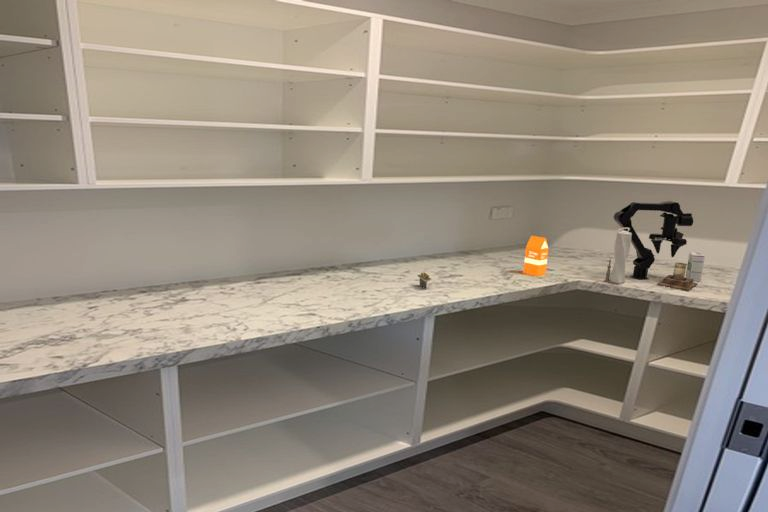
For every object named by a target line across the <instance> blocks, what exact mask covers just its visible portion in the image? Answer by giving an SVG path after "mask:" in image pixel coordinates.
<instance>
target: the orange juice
mask: <svg viewBox="0 0 768 512" xmlns="http://www.w3.org/2000/svg"><path fill="white" fill-rule="evenodd" d="M524 255H525V256H524V266H523V274H525V273H526V274H525V275H529V274H530V275H531V276H533V275H534V276H535V277H537V276H538V277H541V276H546V274H547V273H546V272H547V265H548V257H549V256H548V255H549V245H548V241H547V238H546V237H542V236H536V235H531V236H530V238H529V240H528V242H527V244H526V246H525V253H524ZM530 275H529V276H530Z"/></svg>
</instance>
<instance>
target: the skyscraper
mask: <svg viewBox="0 0 768 512" xmlns="http://www.w3.org/2000/svg"><path fill="white" fill-rule="evenodd" d="M624 229H628V231H629V230H630V228H622V227H620V228H619V229H617V232H616V235H615V241H614V247H613V259H614V261H613V262H614V263H613V266H611V262H612V261H611V257H609V260H608V265H607V271H606V274H605V276H606V277H605V280H604V282H605V283H610V284H613V285H622V284H625V282H626V261H627V259H628V257H629V253H630V249H631V245H632V243H631V236H632V233H630V232H628V231H624ZM611 267H612V270H611Z"/></svg>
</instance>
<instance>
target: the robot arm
mask: <svg viewBox="0 0 768 512" xmlns="http://www.w3.org/2000/svg"><path fill="white" fill-rule="evenodd" d="M638 211H653V212H654V211H655V212H656V211H659V212H662V213H661V214H660V215H659V216H660V217H662V218H663V224H662V226H661V227H660V230H661V233H656V232H655V233H650V234H649V236H648V240H650V242H651V243H652V245H653V247H654V249H655V251H656V254H660V251H661V246H662V245H661V244H662V243H663V241H666V242H669V243H671V244H670V256H671V258H674V257H675V255H676V253H677V252H678V250H679V249H680V248H681V247H684V246H686V245H687V243H688V241H687V239H685V238H683V237H684V232H683V233H682V232H680V231H678V228H677V227H676V226H678V227H692V226H693V224H694V217H693V214H692V213H690V212H686V213H685V212H683V210H682V209H681V205H680V204H679V202H675V201H671V200H670V201H669V200H668V201H667V200H666V201H662V202H636V201H633V202H630V203H629V204H628V205H626V206H625V207H624V208H621V210H619V211H616V212H615V213H614V215H613V220H614V221H615V222H616V223H617V224H618V226H620V228H630V230H629V231H628V229H623V231H628V232H630V233H632V236H631V245H632V246H633V248H634V249H635V252H636V253H635V254H636V256H637V257H636V258H635V259H633V260H632V264H633V265H634V266H633V273H632V275H630V277H631V278H633V279H637V280H649V277H648V273H649V269H650V268H651V266H652V265H653V264H654V263H655V260H656V258H655V255H654V253H653V251H652V249H650V248H647V247H645V246H644V244H643V242H642V241H641V239H640V237H639V235H638V234H637V232H636V230H635V228H634V227H633V225H632V219H631V218H633V217H634V216H635V214H636V213H637V212H638Z"/></svg>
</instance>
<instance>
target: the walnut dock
mask: <svg viewBox="0 0 768 512" xmlns="http://www.w3.org/2000/svg"><path fill="white" fill-rule="evenodd" d="M685 277H686V276H684V281H681V280H676V279H672V278H673V274H668V275H667V276H665V277H663V278H662V279H661V281H659V282H657V285H656V286H658V285H659V287H663V286H665V288H668V287H670V289H673V288H675V289H674V290H678V289H681V290H680V291H684V290H685V291H684V292H689V290H690V291H692V288H693V287H694V288H695V287H697V286H698V283H699V282H694V281H693V279H690V278H685ZM696 285H697V286H696ZM694 288H693V289H694Z"/></svg>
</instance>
